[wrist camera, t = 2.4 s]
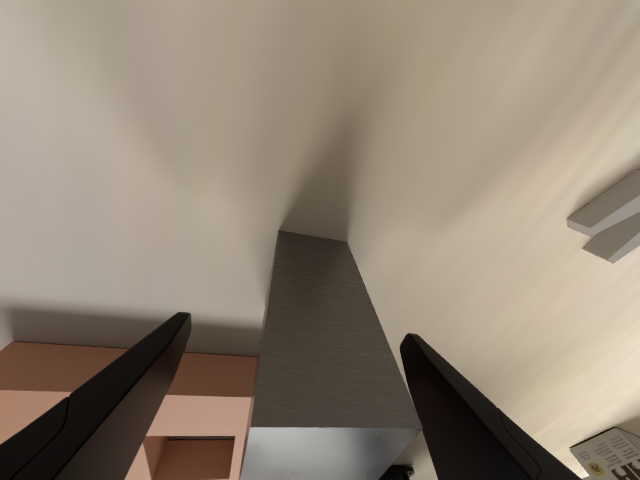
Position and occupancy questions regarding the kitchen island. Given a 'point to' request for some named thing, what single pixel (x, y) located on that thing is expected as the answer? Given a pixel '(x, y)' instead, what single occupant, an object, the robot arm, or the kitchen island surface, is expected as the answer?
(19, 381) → the tan flat board
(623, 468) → the coffee box
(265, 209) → the kitchen island surface
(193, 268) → the kitchen island surface
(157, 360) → the robot arm
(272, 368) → the dark gray brick
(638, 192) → the pliers
